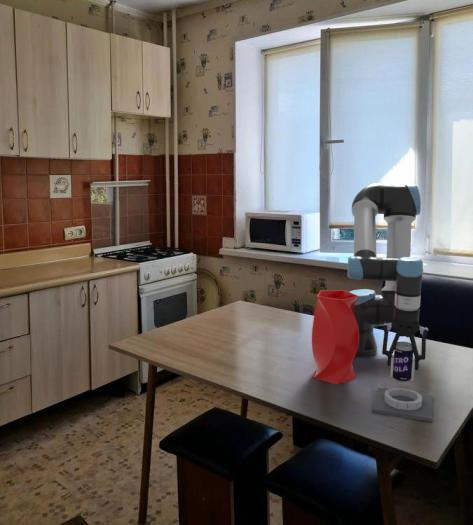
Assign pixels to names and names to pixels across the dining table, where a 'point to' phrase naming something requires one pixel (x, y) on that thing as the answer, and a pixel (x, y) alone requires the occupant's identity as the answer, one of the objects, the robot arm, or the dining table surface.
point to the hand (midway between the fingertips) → (401, 377)
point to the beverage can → (403, 362)
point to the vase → (335, 336)
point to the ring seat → (403, 403)
